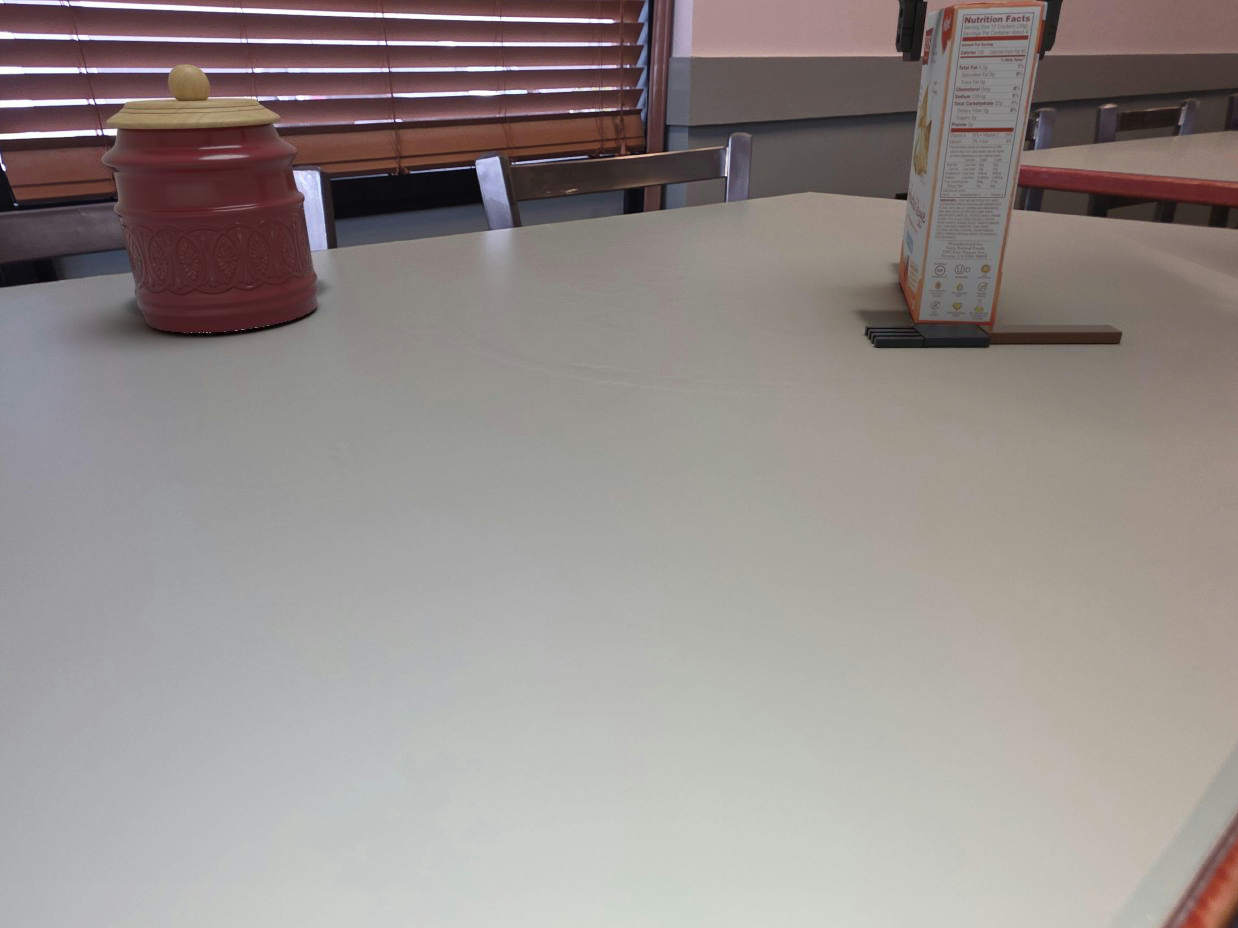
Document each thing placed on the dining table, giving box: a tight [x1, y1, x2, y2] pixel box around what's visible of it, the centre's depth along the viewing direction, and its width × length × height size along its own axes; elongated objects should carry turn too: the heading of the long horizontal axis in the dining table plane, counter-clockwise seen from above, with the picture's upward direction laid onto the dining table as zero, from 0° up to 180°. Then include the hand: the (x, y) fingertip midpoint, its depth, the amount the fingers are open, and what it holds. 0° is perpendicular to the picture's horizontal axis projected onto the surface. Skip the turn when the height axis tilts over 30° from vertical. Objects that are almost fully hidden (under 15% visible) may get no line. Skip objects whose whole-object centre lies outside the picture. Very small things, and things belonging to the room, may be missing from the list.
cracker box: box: [897, 0, 1047, 326], centre depth 64 cm, size 14×6×21 cm, turn 168°
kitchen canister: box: [101, 63, 320, 334], centre depth 64 cm, size 13×13×18 cm
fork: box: [864, 323, 1123, 348], centre depth 59 cm, size 17×3×1 cm, turn 89°
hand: (971, 61), depth 61 cm, fingers open, 8 cm apart
